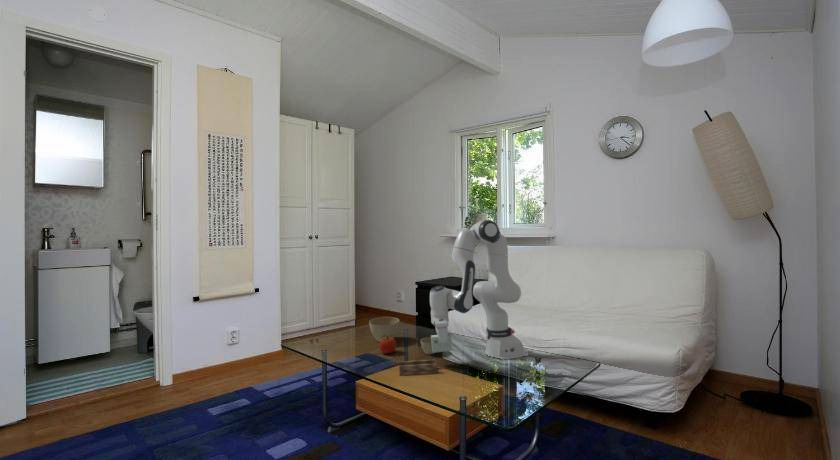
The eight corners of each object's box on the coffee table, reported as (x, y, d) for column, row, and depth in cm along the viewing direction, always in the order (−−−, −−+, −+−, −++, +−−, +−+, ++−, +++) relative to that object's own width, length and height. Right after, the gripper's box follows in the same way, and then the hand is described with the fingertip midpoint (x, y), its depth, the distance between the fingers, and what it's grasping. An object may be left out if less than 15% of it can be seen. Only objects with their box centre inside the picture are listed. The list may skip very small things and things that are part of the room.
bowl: (437, 356, 236) (437, 343, 236) (419, 356, 238) (418, 343, 238) (440, 350, 246) (439, 337, 246) (422, 349, 248) (422, 337, 248)
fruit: (399, 353, 243) (398, 335, 242) (382, 356, 240) (381, 338, 239) (393, 348, 252) (392, 331, 251) (377, 351, 249) (376, 333, 248)
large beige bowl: (366, 339, 271) (365, 319, 270) (393, 334, 279) (392, 315, 278) (376, 347, 255) (374, 327, 254) (404, 342, 262) (403, 322, 261)
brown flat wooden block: (435, 366, 222) (434, 358, 222) (436, 372, 214) (436, 364, 214) (399, 368, 221) (399, 360, 221) (399, 375, 213) (399, 367, 213)
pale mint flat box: (451, 348, 227) (450, 333, 226) (452, 350, 224) (451, 335, 223) (432, 350, 227) (430, 335, 226) (432, 352, 224) (431, 337, 223)
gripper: (431, 313, 234) (433, 338, 235) (435, 325, 213) (437, 353, 215) (443, 311, 234) (445, 337, 236) (448, 324, 214) (450, 351, 215)
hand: (441, 344), depth 225 cm, fingers closed on pale mint flat box, 3 cm apart
